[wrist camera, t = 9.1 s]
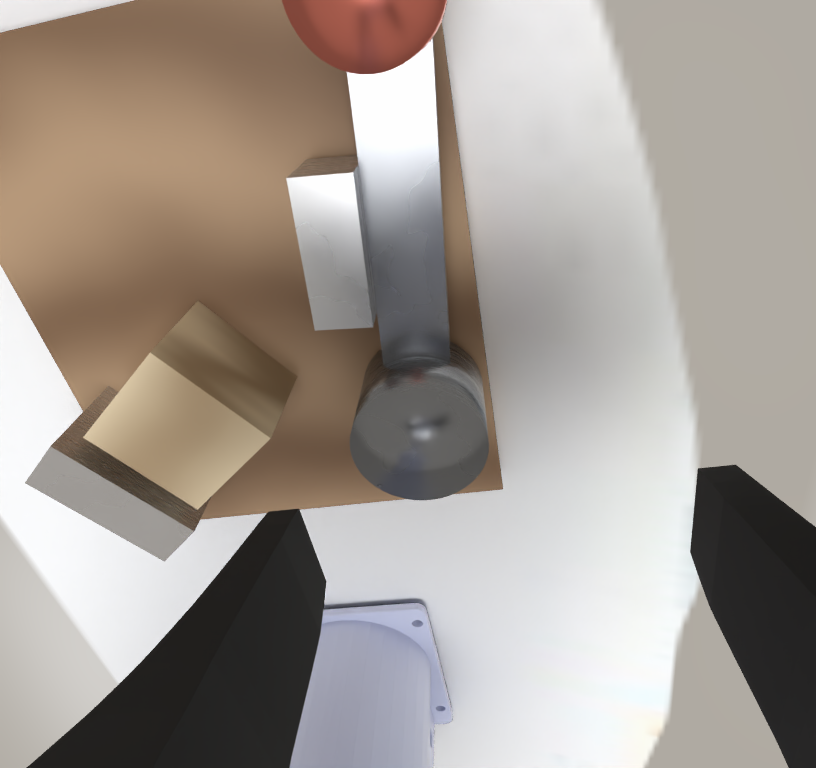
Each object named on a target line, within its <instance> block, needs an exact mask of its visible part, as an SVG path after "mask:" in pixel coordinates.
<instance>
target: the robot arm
mask: <svg viewBox="0 0 816 768" xmlns="http://www.w3.org/2000/svg"><path fill="white" fill-rule="evenodd" d="M690 553H691V555H692V558H693V561H694V564H695V567H696V570H697V573H698V576H699V579H700V581H701V584H702V587H703V590H704V592H705V595H706V597H707V600H708V603H709V606H710V608H711V610H712V612H713V614H714V617H715V619H716V621H717V623H718V625H719V627H720V629H721V631H722V633H723V635H724V637H725V639H726V641H727V643H728V645H729V647H730V649H731V651H732V653H733V655H734V657H735V659H736V661H737V663H738V665H739V667H740V669H741V671H742V673H743V675H744V677H745V679H746V681H747V683H748V685H749V687H750V689H751V691H752V692H753V695H754V697H755V699H756V701H757V703H758V705H759V707H760V709H761V711H762V713H763V715H764V717H765V719H766V721H767V723H768V725H769V726H770V729H771V731H772V733H773V735H774V737H775V739H776V741H777V743H778V745H779V747H780V749H781V751H782V754H783V756H784V758H785V760H786V763H787V765H788V767H789V768H816V527H815V526H813V525H812V524H811V523H809V522H808V521H807V520H806V519H804V518H803V517H802V516H800V515H799V514H798V513H797V512H795V511H794V510H793V509H791V508H790V507H789V506H788V505H786V504H785V503H784V502H782V501H781V500H780V499H779V498H777V497H776V496H775V495H774V494H772V493H771V492H770V491H768V490H767V489H766V488H765V487H763V486H762V485H761V484H759V483H758V482H757V481H756V480H754V479H753V478H752V477H751V476H749V475H748V474H747V473H746V472H744V471H743V470H742V469H740V468H739V467H738V466H736V465H729V466H720V467H709V468H699V469H698V474H697V485H696V495H695V506H694V517H693V528H692V539H691V550H690ZM325 588H326V580H325V577H324V574H323V572H322V569H321V566H320V564H319V561H318V558H317V556H316V553H315V550H314V548H313V545H312V542H311V540H310V537H309V534H308V532H307V529H306V526H305V524H304V521H303V518H302V516H301V513H300V510H299V509H289V510H279V511H269V512H268V513H267V514H266V515H265V517H264V518H263V519H262V520H261V521H260V523H259V524H258V525H257V526H256V528H255V529H254V530H253V531H252V533H251V534H250V535H249V536H248V538H247V539H246V540H245V541H244V543H243V544H242V545H241V546H240V548H239V549H238V550H237V551H236V553H235V554H234V555H233V556H232V558H231V559H230V560H229V561H228V563H227V564H226V565H225V566H224V568H223V569H222V570H221V571H220V573H219V574H218V575H217V576H216V577H215V579H214V580H213V581H212V582H211V584H210V585H209V586H208V587H207V588H206V590H205V591H204V592H203V593H202V594H201V596H200V597H199V598H198V599H197V600H196V602H195V603H194V604H193V605H192V606H191V608H190V609H189V610H188V611H187V612H186V613H185V614H184V615H183V616H182V618H181V619H180V620H179V621H178V622H177V623H176V624H175V625H174V627H173V628H172V629H171V630H170V631H169V632H168V633H167V634H166V636H165V637H164V638H163V639H162V640H161V641H160V642H159V643H158V644H157V646H156V647H155V648H154V649H153V650H152V651H151V652H150V653H149V654H148V655H147V656H146V657H145V659H144V660H143V661H142V662H141V663H140V664H139V665H138V666H137V667H136V668H135V669H134V670H133V671H132V672H131V673H130V674H129V675H128V676H127V677H126V678H125V679H124V680H123V681H122V682H121V683H120V684H119V685H118V686H117V687H116V688H115V689H114V690H113V691H112V692H111V693H110V694H108V695H107V696H106V697H105V699H103V700H102V701H101V702H100V703H99V704H98V705H97V706H96V707H95V708H94V709H93V710H92V711H91V712H90V713H89V714H87V715H86V716H85V717H84V718H83V719H82V720H81V721H80V722H79V723H77V724H76V725H75V726H74V727H73V728H72V729H70V731H68V732H67V733H66V734H65V735H64V736H62V737H61V738H60V739H59V740H58V741H57V742H56V743H55V744H54V745H52V746H51V747H50V748H49V749H48V750H46V751H45V752H44V753H43V754H42V755H41V756H40V757H38V758H37V759H36V760H35V761H34V762H33V763H32V764H31V765H29V766H28V767H27V768H434V724H447V723H450V722H451V721H452V720H453V711H452V707H451V704H450V700H449V696H448V692H447V688H446V684H445V680H444V676H443V672H442V668H441V664H440V660H439V656H438V653H437V649H436V645H435V641H434V637H433V633H432V629H431V625H430V621H429V617H428V613H427V609H426V608H425V606H423V605H422V604H419V603H407V604H393V605H379V606H366V607H352V608H339V609H325V610H323V609H324V599H325Z"/></svg>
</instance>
